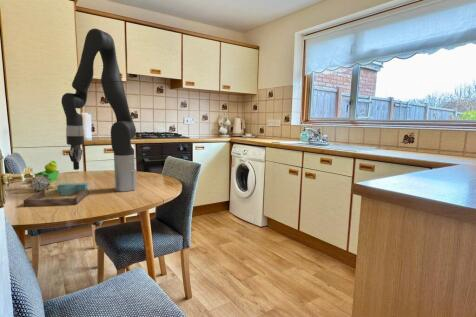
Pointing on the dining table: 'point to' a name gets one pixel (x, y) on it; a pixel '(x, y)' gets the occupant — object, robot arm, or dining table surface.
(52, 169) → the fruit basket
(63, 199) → the walnut bay
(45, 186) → the game die
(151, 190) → the dining table surface
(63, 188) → the teal T block
